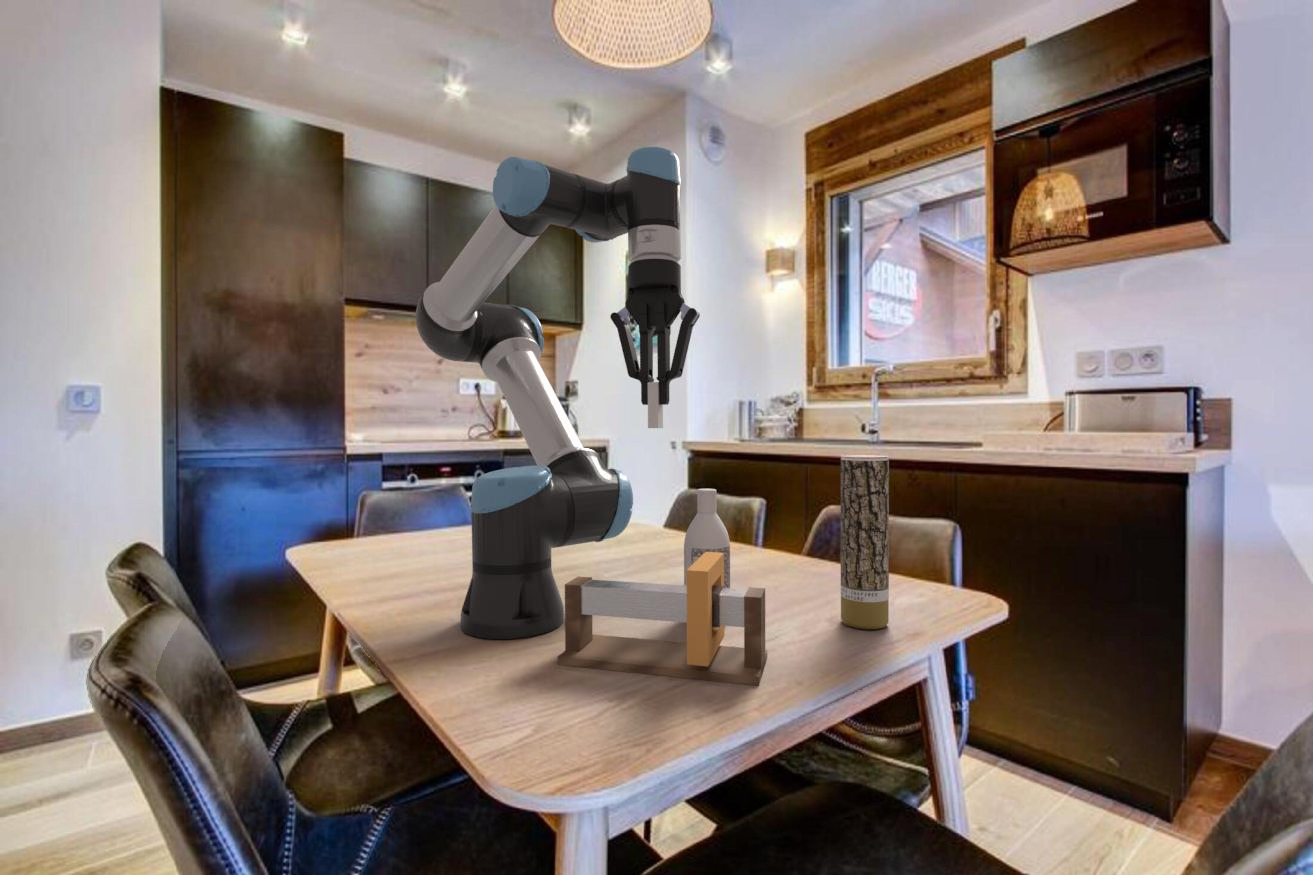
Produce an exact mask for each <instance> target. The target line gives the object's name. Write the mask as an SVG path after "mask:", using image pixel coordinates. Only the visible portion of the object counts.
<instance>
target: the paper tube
mask: <svg viewBox="0 0 1313 875" xmlns="http://www.w3.org/2000/svg"><path fill="white" fill-rule="evenodd" d="M889 466H890V460H889V455H878V454H877V455H873V454H871V455H870V454H858V455H857V454H856V455H855V454H852V455H850V454H847V455H841V456H840V620H841V621H842V623H843V624H844V625H846V626H849V627H851V628H854V629H860V630H869V631H870V630H881V629H883V628H885V627H886V626H887V625H888V624H889V616H890V615H889V612H890V611H889V604H890V603H889V602H890V601H889V599H890V593H889V592H890V591H889V590H890V582H889V581H890V578H889V577H890V574H889V573H890V571H889V570H890V569H889V568H890V562H889V561H890V560H889V558H890V551H889V550H890V548H889V547H890V543H889V542H890V538H889V537H890V520H889V519H890V518H889V517H890V513H889V512H890V467H889Z"/></svg>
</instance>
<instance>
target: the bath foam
mask: <svg viewBox="0 0 1313 875" xmlns="http://www.w3.org/2000/svg"><path fill="white" fill-rule="evenodd" d="M696 493H697V494H696V498H697V501H696V504H697V507H696V509H697V513H696V515H695V516H694V518H693V520H691V523H690V524H689V526H688V528H687V530H686V532H685V537H684V543H683V556H684V557H683V562H684V563H683V565H684V566H683V567H684V568H683V572H684V574H683V577H684V578H683V580H684V582H683V583H684V584H683V585H684V586H687V569H688V568H689V567H690V566H691V565H692V564H694V563H695V562H696V561H697V560H698V559H699V558H700V557H701V556H702V555H703V554H704V553H705V552H719V553H724V586H725V588H731V544H730V543H731V542H730V536H729V533H728V530H727V528H726V526H725V524H724V522H723V521H722V519H721V518H720V517H719V515H718V512H717V508H718V507H717V506H718V505H717V504H718V503H717V489H715V488H698V489H697V490H696Z"/></svg>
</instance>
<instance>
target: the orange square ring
mask: <svg viewBox="0 0 1313 875" xmlns="http://www.w3.org/2000/svg"><path fill="white" fill-rule="evenodd" d="M712 585H715V586H724V553H719V552H705V553H704V554H703V555H702V556H701V557H700V558H699V559H698V560H697V561H696V562H695V563H694V564H692V565H691V566H690V567H689V568H688V569H687V623H686V643H687V664H688V665H698V666H709V664H710V662H711V660H712V658H713V657H714V655H715V653H716V651H717V649H718V647H719V646H721V643H722V641H723V640H724V638H725V626H722V625H721V626H720V627H712Z"/></svg>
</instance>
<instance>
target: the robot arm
mask: <svg viewBox="0 0 1313 875" xmlns="http://www.w3.org/2000/svg"><path fill="white" fill-rule="evenodd" d="M680 170H681V169H680V160H679V157H678V156H677V154H676V153H675V152H673V151H672V150H669V149H667V148H665V147H658V146H645V147H640V148H637V149H634V150H633V151H632V152H631V153H630V154H629V156H628V159H627V165H626V169H625V171H626V175H625V176H623V177H621V178H619V179H617V180H615V181H612V182H610V183H606V182H602V181H598V180H596V179H593V178H589V177H586V176H583V175H579V174H576V173H572V172H568V171H565V170H562V169H559V168H557V167H553V166H549V165H547V164H544V163H542V162H540V161H537V160H534V159H527V158H522V157H517V156H509V157H507V158H505V159H503V161H501V163H500V164H499V165H498V167H497V169H496V176H494V177H493V181H492V197H493V201H494V204H495V205H494V207H493V208H492V209H491V211H490V212H489V214H488V215H487V216H486V217H485V218H484V220H483V222H482V223H481V224H480V226H479V227H478V228H477V230H476V231H475V232H474V234H473V235H472V237H471V238H470V239H469V241H467V244H466V245H465V246H464V247H463V249H462V250H461V252H460V253H459V255H458V256H457V257H456V258H455V260H454V262H452V264H451V265H450V266H449V268H448V269H447V271H446V273H445V274H444V275H443V276H442V278H441V279H440V281H437V282H434V283H431V284H430V285H429V286H427V288H426V289H425V290H424V292H423V293H422V294H421V296H420V298H419V299H418V303H417V305H416V309H415V324H416V328H417V329H416V330H417V332H418V334H419V336H420V338H421V340H422V342H424V344H425V345H426V347H427V348H428V349H429V350H430V351H431V352H433V353H434V354H435V355H437V356H438V357H441V358H443V359H445V360H448V361H453V362H464V363H477V364H479V365H480V368H481V369H482V372H483V374H484V376H485V377H486V378H487V379H489V381H491V382H495V383H497V384H498V386H499V389H500V390H501V393H502V395H503V396H504V399H505V401H506V403H507V405H508V407H509V410H510V411H511V413H512V416H513V417H514V420H515V422H516V424H517V425H518V428H519V430H520V433H521V434H522V436H523V439H524V441H525V443H526V444H527V447H528V449H529V451H530V453H531V455H532V458H533V459H534V462H535V463H536V465H524V466H523V465H522V466H519V467H518V466H515V467H507V468H501V469H498V470H493V471H489V472H487V473H483V474H481V475H479V476H478V477H477V478H476V479H475V480H474V481H473V483H472V488H471V489H472V490H471V499H470V505H469V509H470V511H471V513H470V514H471V554H472V556H471V558H472V561H471V562H472V568H471V569H472V572H471V573H472V574H471V578H470V582H469V586H468V588H467V591H466V595H465V598H464V601H463V603H462V604H463V605H462V608H461V611H460V629H461V631H462V632H463V633H465V634H467V635H469V636H472V637H476V638H480V639H481V638H482V639H491V640H492V639H493V640H507V639H508V640H509V639H521V638H527V637H532V636H538V635H541V634H545V633H549V632H550V631H553V630H555V629H556V628H558V627H560V626H561V625H562V624H563V622H565V610H564V604H563V600H562V597H561V594H560V591H559V589H558V585H557V583H556V580H555V577H554V574H553V570H552V549H555V548H562V547H567V546H574V545H575V546H576V545H581V544H588V543H594V542H595V543H600V542H602V541H604V540H609V539H613V538H616V537H618V536H619V535H621V534H622V533H623V532H624V531H625V529H627V527H628V525H629V523H630V521H631V518H632V514H633V505H634V494H633V492H634V491H633V488H632V485H631V481H630V480H629V478H628V476H627V475H626V474H625V473H624V472H623V471H622V470H617V469H615V468H608V469H607V467H606V466H605V464H604V462H603V460H602V459H601V457H600V455H599V454H598V453H597V452H596V451H595V450H593V449H590V448H585V447H584V444H583V442H582V441H581V439H580V437H579V435H578V433H577V431H576V430H575V428H574V426H573V424H572V422H571V420H570V418H569V417H568V414H567V413H566V411H565V409H564V407H563V405H562V404H561V401H560V399H559V398H558V396H557V394H556V392H555V391H554V388H553V386H552V385H551V383H550V382H549V379H548V377H547V375H546V374H545V373H546V372H544V370H543V368H542V366H541V364H540V360H541V357H542V354H543V350H544V345H545V338H544V337H543V334H544V330H543V326H542V325H541V322H540V320H539V319H538V317H537V315H535V313H533V311H532V310H529V309H527V308H525V307H520V306H516V305H514V304H498V303H491V302H485V301H486V300H487V299H488V298H489V297H490V295H491V294H492V293H493V292H494V291H495V290H496V289H497V288H498V286H499V285H500V284H501V283H502V282H503V280H504V278H506V276H507V275H508V274H509V273H510V272H511V270H512V269H513V268H514V267H515V266H516V265H517V263H518V262H519V261H520V259H522V257H523V256H524V255H525V254H526V253H527V251H528V250H529V249H530V248H531V247H532V246H533V244H534V243H535V242H536V241H537V240H538V238H539V237H540V236H541V235H542V234H543V233H544V232H545V230H547V228H548V227H549V225H554V226H559V227H563V228H567V229H571V230H575V232H576V233H577V234H578V235H579V236H581V237H582V238H583V239H584V240H585V241H586V242H590V243H594V244H595V243H601V242H608V241H611V240H614V239H616V238H618V237H620V236H623V235H626V234H627V245H628V246H627V247H628V248H627V250H628V253H627V256H628V257H627V258H628V261H629V262H630V264H629V265H628V266H627V269H628V271H627V272H628V278H627V280H628V283H627V284H628V286H627V288H628V295H627V298H626V300H625V303H624V304H625V305H624V306H623V307H622V308H621V309H620V310H619V311H618V312H614V311H613V312H612V313H611V314H610V320H611V321H612V322H613V324H614V326H615V327H616V329H617V333H618V338H619V341H620V346H621V349H622V355H623V360H624V363H625V367H626V371H627V374H628V377H629V378H632V379H634V380H637V381H639V382H640V389H641V390H640V392H641V393H640V394H641V395H640V396H641V398H640V400H641V404H642V405H644V406H647V428H648V429H663V428H664V405H669V404H670V383H671V382H672V381H673V380H676V379H679V378H681V377H682V375H683V372H684V368H685V363H686V359H687V354H688V350H689V345H690V341H691V337H692V334H693V333H692V332H693V328H694V326H695V325H696V323H697V321H698V320H699V318H700V316H701V314H700V312H699V311H698V310H697V309H696V308H694V307H690V305H689V306H688V305H687V304H685V299H684V297H683V295H682V268H681V267H682V266H681V265H680V263H679V262H680V261H681V259H682V254H681V253H682V251H681V249H682V248H681V247H682V244H681V186H682V181H681V180H682V179H681V171H680ZM679 314H680V319H681V320H682V321H681V323H680V326H679V330H678V335H677V339H676V344H675V348H674V351H673V357H672V361H671V334H672V332H671V331H672V330H671V328H672V327H671V326H672V324H674V322H675V320H676V319H677V318H678V316H679ZM630 316H631V317H632V318H633V320H634V321H635V323H636V324H637V325H638V333H639V360H638V355H637V351H636V348H635V343H634V339H633V335H632V331H631V328H630V326H629V323H630V322H631V319H630ZM654 329H656V334H657V335H656V336H657V337H656V339H657V340H656V341H657V343H656V346H657V347H656V348H657V349H656V350H657V356H656V357H657V376H656V377H655V378H656V380H657V381H655V378H654V372H653V371H654V366H653V365H654V355H653V354H654V352H653V351H654V350H653V349H654V346H653V344H654V342H653V340H654V338H653V337H654V333H655V332H654Z"/></svg>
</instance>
